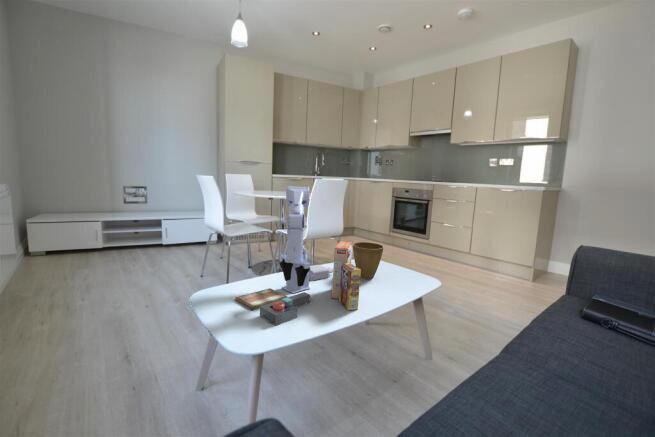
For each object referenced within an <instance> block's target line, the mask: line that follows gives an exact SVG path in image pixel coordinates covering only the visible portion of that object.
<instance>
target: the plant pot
mask: <svg viewBox="0 0 655 437" xmlns="http://www.w3.org/2000/svg"><path fill="white" fill-rule="evenodd" d="M384 249H385V247H384V245H383V244H380V243H377V242H376V243H375V242H367V241H358V242H354V243H353V246H352V254H353V260H354V266H356V267H357V268H359V269H361V276H360V279H363V280H370V279H371V280H373V279H374V277H375V275H376V273H377V271H378V269H379V266H380V263H381V260H382V256H383V252H384Z"/></svg>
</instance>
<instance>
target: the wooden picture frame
mask: <svg viewBox="0 0 655 437" xmlns="http://www.w3.org/2000/svg"><path fill="white" fill-rule="evenodd" d="M287 297H288V296H287V295H285V294H283V293H280V292H279V291H277V290H275V289H272V288H271V287H270V288H266V289H263V290H259V291H255V292H251V293H247V294H243V295H239V296H236V297H234V301H236V302H237V301H238V303H239V304H241V305H242V306H244V307H245V308H248V309H249V310H251V311H254V310H257V309H260V306H263V305H266V304H269V303H272V302H276V301H279V300H282V299H284V298H287Z"/></svg>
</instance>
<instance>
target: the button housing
mask: <svg viewBox="0 0 655 437" xmlns="http://www.w3.org/2000/svg"><path fill="white" fill-rule="evenodd" d="M276 302H283V303H284V304H285V309H283V310H280V311H276V310H274V309H273V303H275V302H272V303H269V304H266V305H263V306H260V308H259V317H260V318H262V319H264V320H265V321H267V322H268V323H271V324H272V325H274V326H275V327H276V326H278V325H281V324H283V323H287V322H290V321H291V320H294V319H297V318H298V307H295V306H293V305H291V304H289V303H287V302H285V301H283V300H279V301H276Z"/></svg>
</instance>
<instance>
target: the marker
mask: <svg viewBox="0 0 655 437" xmlns="http://www.w3.org/2000/svg"><path fill="white" fill-rule="evenodd" d="M282 300H283V301H285V302H287V303H289V304H291V305H293V306H295V307H297V308H298V307H301V306H304V305H306V304H310V303H311V294H310V293H307V292H305V291H303V292H301V293H298V294H294V295H291V296H287V298H284V299H282Z"/></svg>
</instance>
